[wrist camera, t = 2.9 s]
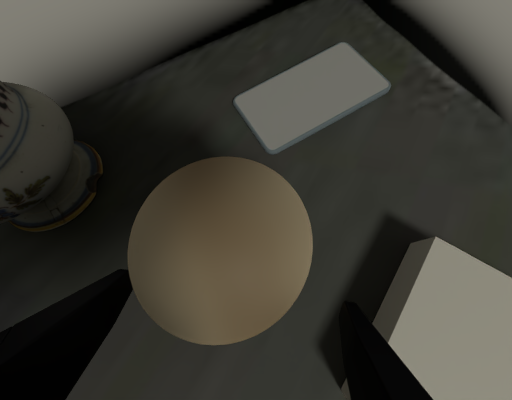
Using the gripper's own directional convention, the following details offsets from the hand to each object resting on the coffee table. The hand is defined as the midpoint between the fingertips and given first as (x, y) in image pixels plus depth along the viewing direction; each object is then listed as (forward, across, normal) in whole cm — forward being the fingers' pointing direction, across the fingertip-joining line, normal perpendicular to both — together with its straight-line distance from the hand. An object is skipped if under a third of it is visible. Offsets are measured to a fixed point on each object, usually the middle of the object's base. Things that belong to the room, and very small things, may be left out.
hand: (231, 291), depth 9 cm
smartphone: (+21, -4, -7) cm, 22 cm away
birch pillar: (+8, 0, +6) cm, 9 cm away
